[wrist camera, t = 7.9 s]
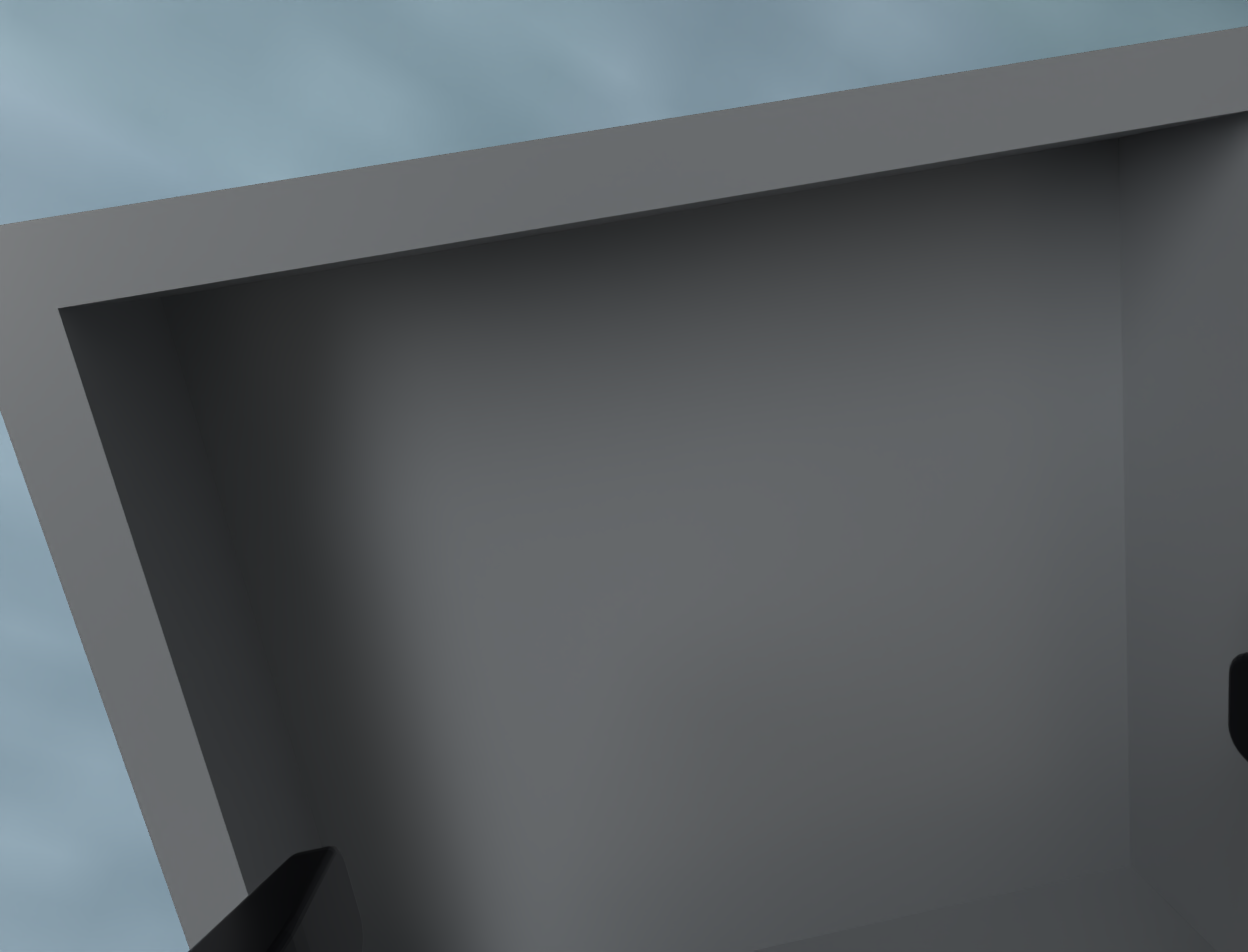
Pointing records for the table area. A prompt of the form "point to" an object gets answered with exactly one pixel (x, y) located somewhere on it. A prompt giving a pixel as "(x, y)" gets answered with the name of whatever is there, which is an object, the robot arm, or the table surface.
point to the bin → (683, 519)
